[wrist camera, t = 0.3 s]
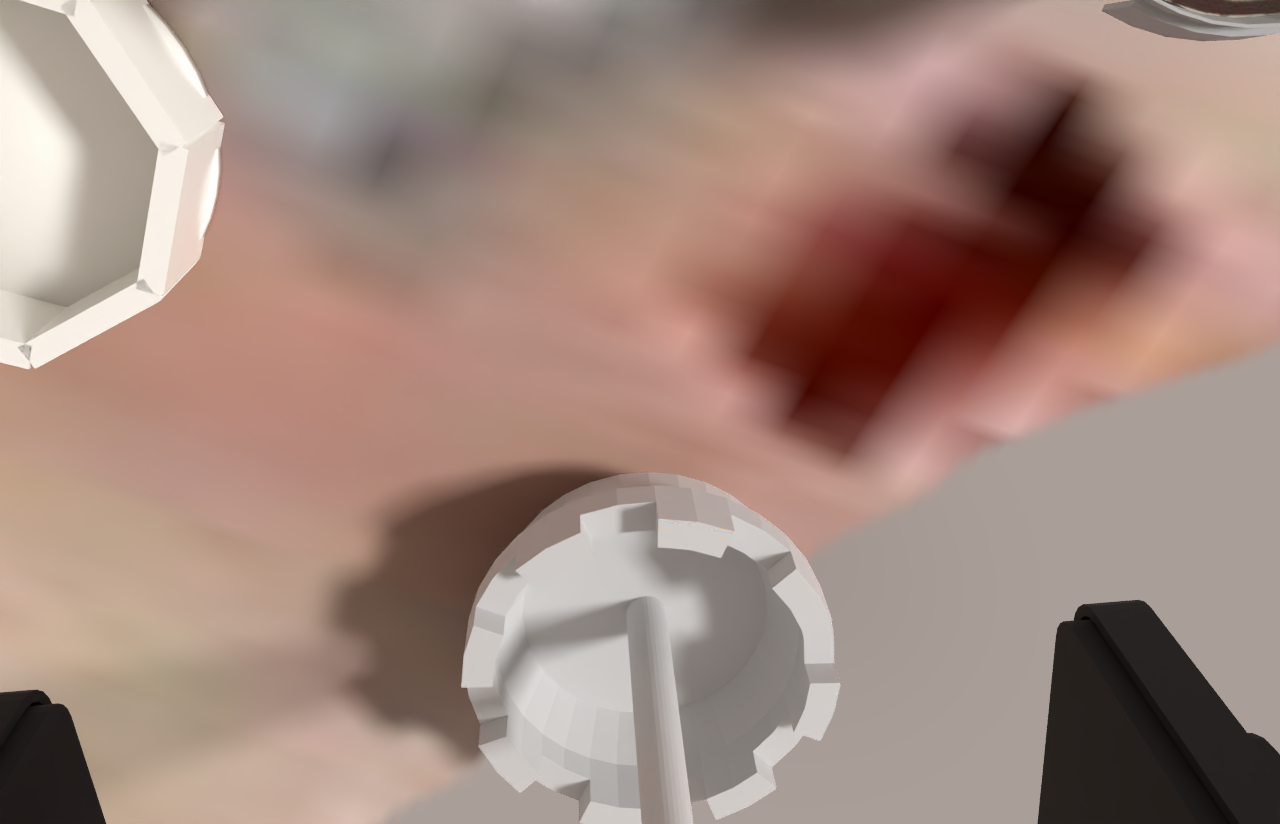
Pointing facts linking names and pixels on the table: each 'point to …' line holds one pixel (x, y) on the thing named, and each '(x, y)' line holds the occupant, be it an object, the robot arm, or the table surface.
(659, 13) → the table surface
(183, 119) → the white bowl
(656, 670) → the flag stand
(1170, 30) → the food container
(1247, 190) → the table surface
